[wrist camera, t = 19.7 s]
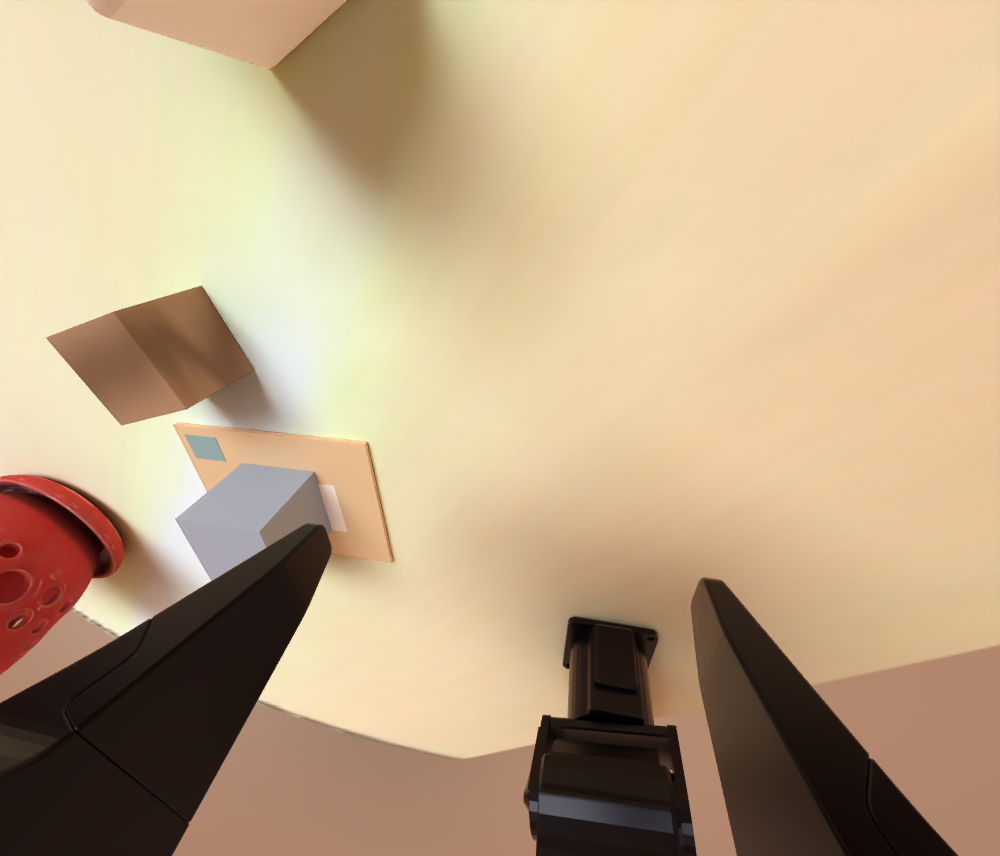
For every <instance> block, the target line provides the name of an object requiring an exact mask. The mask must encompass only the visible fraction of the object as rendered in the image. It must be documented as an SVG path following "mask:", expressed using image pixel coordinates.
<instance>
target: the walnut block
mask: <svg viewBox="0 0 1000 856" xmlns="http://www.w3.org/2000/svg"><path fill="white" fill-rule="evenodd" d="M47 340H48V341H49V342H50V343H51V344H52V345H53V347H54V348H55V349H56V350H57V351H58V352H59V354H60V355H61V356H62V357H63V358H64V359H65V361H66V362H67V363H68V364H69V365H70V366H71V367H72V369H73V370H74V371H75V372H76V373H77V374H78V376H79V377H80V378H81V379H82V380H83V381H84V383H85V384H86V385H87V386H88V387H89V388H90V390H91V391H92V392H93V393H94V394H95V395H96V397H97V398H98V399H99V400H100V401H101V402H102V404H103V405H104V406H105V407H106V408H107V409H108V411H109V412H110V413H111V414H112V415H113V416H114V418H115V419H116V420H117V421H118V422H119V423H120V424H121V425H125V424H129V423H133V422H137V421H141V420H145V419H149V418H153V417H157V416H161V415H165V414H169V413H173V412H177V411H181V410H185V409H188V408H190V407H191V406H193V405H195V404H196V403H198V402H200V401H202V400H203V399H205V398H207V397H208V396H210V395H212V394H213V393H215V392H217V391H218V390H220V389H222V388H224V387H225V386H227V385H229V384H230V383H232V382H234V381H235V380H237V379H239V378H240V377H242V376H244V375H246V374H247V373H249V372H251V371H252V370H254V368H253V366H252V364H251V363H250V361H249V360H248V358H247V357H246V355H245V353H244V352H243V350H242V349H241V347H240V345H239V344H238V342H237V341H236V339H235V338H234V336H233V334H232V333H231V331H230V330H229V328H228V327H227V325H226V323H225V322H224V320H223V319H222V317H221V315H220V314H219V312H218V311H217V309H216V308H215V306H214V304H213V303H212V301H211V300H210V298H209V297H208V295H207V293H206V292H205V290H204V289H203V287H202V286H199V287H196V288H193V289H189V290H186V291H182V292H179V293H176V294H172V295H169V296H166V297H162V298H159V299H155V300H152V301H149V302H145V303H142V304H138V305H135V306H132V307H128V308H125V309H121V310H118V311H115V312H112V313H109V314H107V315H104V316H101V317H99V318H96V319H94V320H91V321H88V322H86V323H83V324H80V325H78V326H75V327H73V328H70V329H67V330H65V331H62V332H60V333H57V334H54V335H52V336H49V337H47Z"/></svg>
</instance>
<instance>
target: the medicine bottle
mask: <svg viewBox="0 0 1000 856" xmlns="http://www.w3.org/2000/svg"><path fill="white" fill-rule="evenodd" d="M86 1H87V3H88V4H89V5H90V6H91V7H92V8H93V9H94V10H95V11H96V12H98V13H99V14H101V15H103V16H105V17H107V18H110V19H113V20H116V21H120V22H123V23H126V24H129V25H132V26H135V27H139V28H142V29H145V30H148V31H151V32H154V33H157V34H161V35H164V36H167V37H170V38H173V39H176V40H179V41H183V42H186V43H189V44H192V45H195V46H198V47H201V48H205V49H208V50H211V51H214V52H217V53H220V54H223V55H227V56H230V57H233V58H236V59H239V60H242V61H245V62H249V63H252V64H255V65H258V66H261V67H264V68H267V69H269V68H272V67H275V66H276V65H277V64H278V63H279V62H280V61H281V60H282V59H283V58H284V57H286V56H287V55H288V54H289V53H290V52H291V51H292V50H293V49H294V48H295V47H296V46H298V45H299V44H300V43H301V42H302V41H303V40H304V39H305V38H306V37H307V36H308V35H310V34H311V33H312V32H313V31H314V30H315V29H316V28H317V27H318V26H319V25H321V24H322V23H323V22H324V21H325V20H326V19H327V18H328V17H329V16H330V15H331V14H333V13H334V12H335V11H336V10H337V9H338V8H339V7H340V6H341V5H342V4H343V3H345V2H346V1H347V0H86Z"/></svg>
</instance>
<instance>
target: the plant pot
mask: <svg viewBox="0 0 1000 856" xmlns="http://www.w3.org/2000/svg"><path fill="white" fill-rule="evenodd" d="M122 559H123V544H122V541H121V534H120V533H119V532H118V531H117V530H116V529H115V527H114V526H113V524H112V523H111V522H110V521H109V519H108V518H107V517H106V516H105V515H104V514H103V513H102V512H101V511H100V510H99V509H98V508H97V507H96V506H94V505H93V504H92V503H91V502H89V501H88V500H87V499H85V498H84V497H83V496H81V495H79V494H78V493H76V492H75V491H73V490H71V489H69V488H67V487H65V486H63V485H61V484H59V483H56V482H53V481H51V480H48V479H44V478H41V477H36V476H30V475H8V476H2V477H0V675H1V674H2V673H3V672H4V671H6V670H7V669H8V668H10V667H11V666H12V665H13V664H14V663H15V662H17V661H18V660H19V659H20V658H21V657H23V656H24V655H25V654H26V653H27V652H28V651H29V650H30V649H32V648H33V647H34V646H35V645H36V644H37V643H38V642H39V641H40V640H41V639H42V637H43V636H44V635H45V634H46V633H47V632H48V631H49V630H50V629H51V628H52V627H53V626H54V624H56V623H57V622H58V621H59V620H60V619H61V618H62V617H63V616H64V615H65V614H66V613H67V612H68V611H70V610H71V609H72V607H73V606H74V605H75V604H76V603H77V601H78V600H79V599H80V597H81V596H82V594H83V593H84V591H85V590H86V588H87V586H88V584H89V583H90V581H91V579H92V578H104V577H108V576H110V575H112V574H114V573H115V572H116V571H117V569H118V568H119V567H120V565H121V562H122ZM21 618H23V619H22V621H21V622H20V623H19V624H18V625H16V626H15V627H13V626H14V624H15V623H16V622H17V621H18V620H20V619H21Z"/></svg>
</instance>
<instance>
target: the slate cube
mask: <svg viewBox="0 0 1000 856" xmlns="http://www.w3.org/2000/svg"><path fill="white" fill-rule="evenodd" d="M175 520H176V521H177V523H178V525H179V526H180V528H181V530H182V531H183V533H184V535H185V537H186V538H187V540H188V542H189V543H190V545H191V547H192V549H193V550H194V552H195V554H196V555H197V557H198V559H199V560H200V562H201V564H202V566H203V567H204V569H205V571H206V572H207V574H208V576H209V577H210V579H211V580H214V579H216V578H217V577H219V576H221V575H222V574H224V573H225V572H227V571H229V570H230V569H232V568H234V567H235V566H237V565H239V564H240V563H242V562H243V561H245V560H247V559H248V558H250V557H252V556H253V555H255V554H257V553H258V552H260V551H261V550H263V549H265V548H266V547H268V546H270V545H271V544H273V543H274V542H276V541H278V540H279V539H281V538H283V537H284V536H286V535H288V534H289V533H291V532H292V531H294V530H296V529H297V528H299V527H301V526H302V525H304V524H306V523H318V524H323V525H324V526H325V528H326V530H327V533H328V535H329V534H330V533H331V531H332V528H331V524H330V521H329V518H328V515H327V512H326V508H325V505H324V502H323V499H322V496H321V492H320V489H319V486H318V483H317V480H316V476H315V473H314V472H311V471H303V470H295V469H286V468H278V467H270V466H261V465H253V464H245V463H242V464H240V465H239V466H238V467H237V468H236V469H234V470H233V471H232V472H231V473H230V474H229V475H227V476H226V477H225V478H224V479H223V480H221V481H220V482H219V483H218V484H217V485H215V486H214V487H213V488H212V489H211V490H210V491H208V492H207V493H206V494H205V495H204V496H202V497H201V498H200V499H199V500H198V501H196V502H195V503H194V504H193V505H192V506H190V507H189V508H188V509H187V510H186V511H185V512H183V513H182V514H181V515H180V516H179V517H177V518H176V519H175Z"/></svg>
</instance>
